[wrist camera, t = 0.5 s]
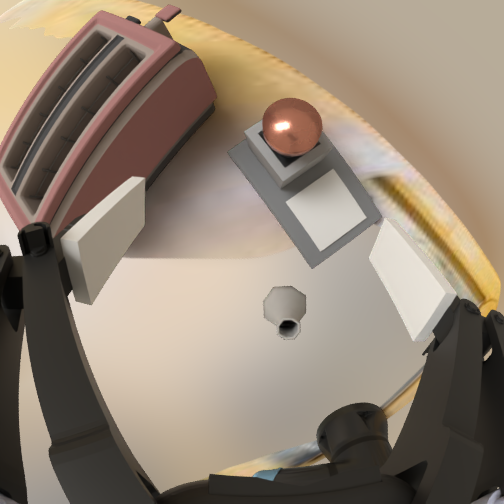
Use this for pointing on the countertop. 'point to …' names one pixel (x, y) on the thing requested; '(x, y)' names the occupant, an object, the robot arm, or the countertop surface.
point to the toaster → (102, 118)
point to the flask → (285, 310)
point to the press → (307, 193)
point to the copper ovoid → (291, 127)
